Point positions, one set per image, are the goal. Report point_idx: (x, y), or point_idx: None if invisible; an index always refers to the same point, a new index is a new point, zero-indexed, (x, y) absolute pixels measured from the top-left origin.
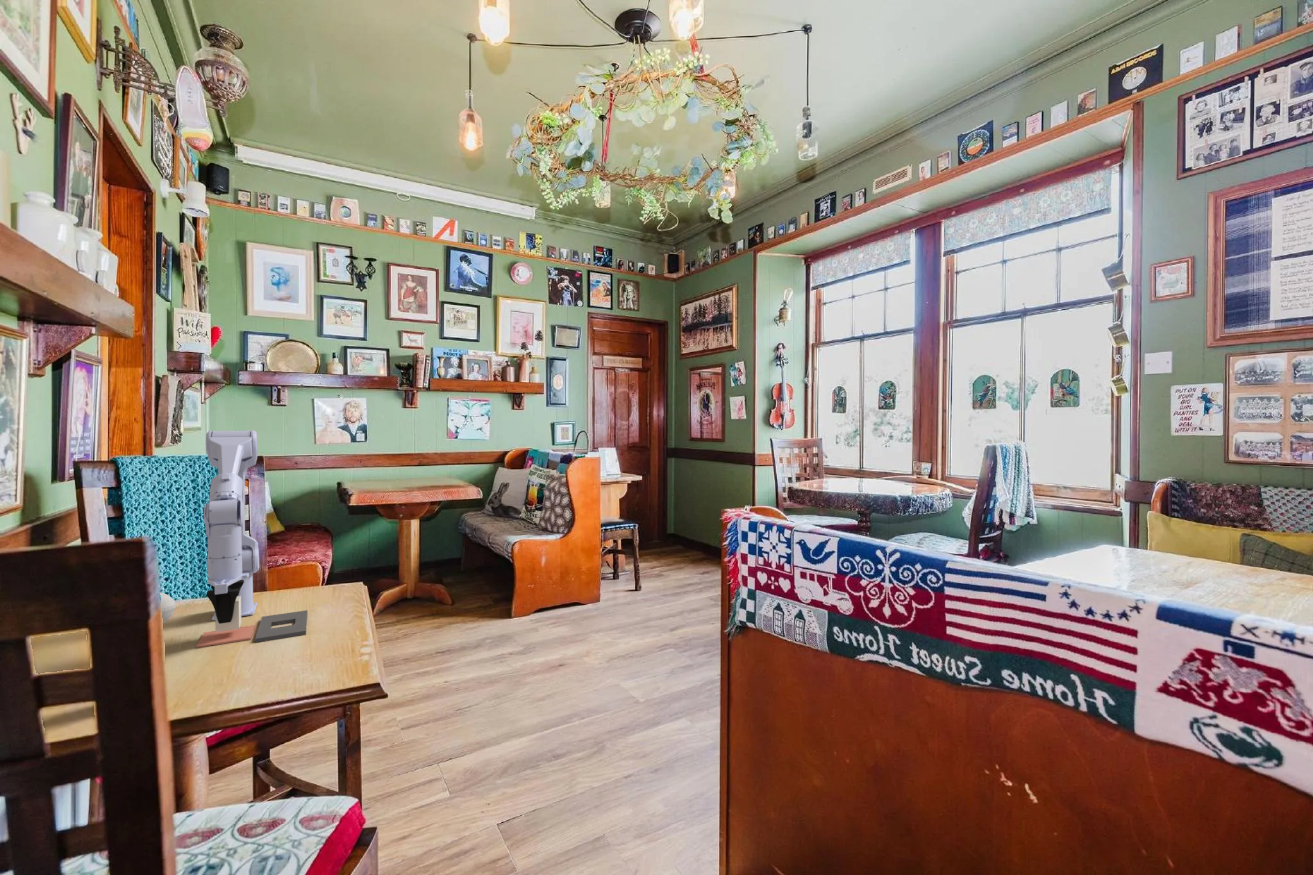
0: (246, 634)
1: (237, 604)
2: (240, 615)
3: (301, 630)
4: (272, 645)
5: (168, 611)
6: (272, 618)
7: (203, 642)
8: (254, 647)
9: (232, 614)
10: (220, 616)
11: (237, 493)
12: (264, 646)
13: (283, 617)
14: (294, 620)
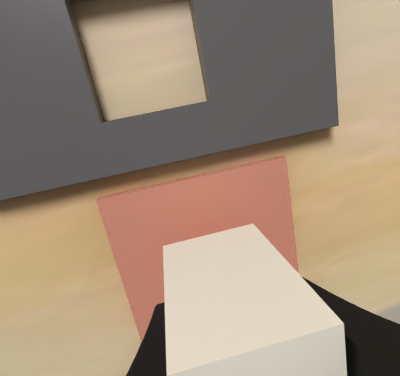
0: (234, 188)
1: (325, 307)
2: (197, 263)
3: None
4: (395, 40)
5: None
6: (25, 138)
7: None
8: (383, 110)
9: (315, 284)
10: None
11: None
12: (390, 72)
13: (19, 77)
14: (67, 4)
